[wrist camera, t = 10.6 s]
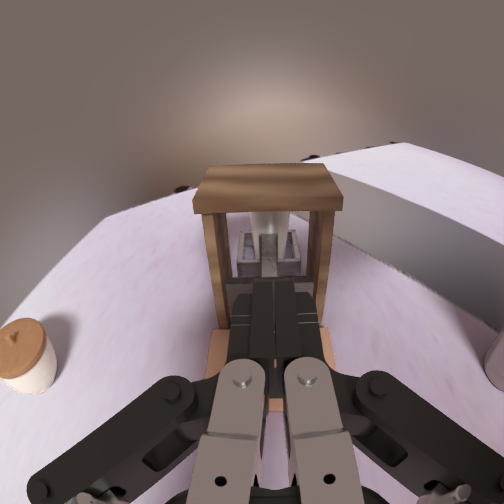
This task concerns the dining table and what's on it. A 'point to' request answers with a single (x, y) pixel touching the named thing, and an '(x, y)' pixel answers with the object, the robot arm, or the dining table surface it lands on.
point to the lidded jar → (26, 357)
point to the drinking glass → (270, 228)
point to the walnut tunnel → (266, 200)
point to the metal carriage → (266, 267)
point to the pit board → (220, 349)
